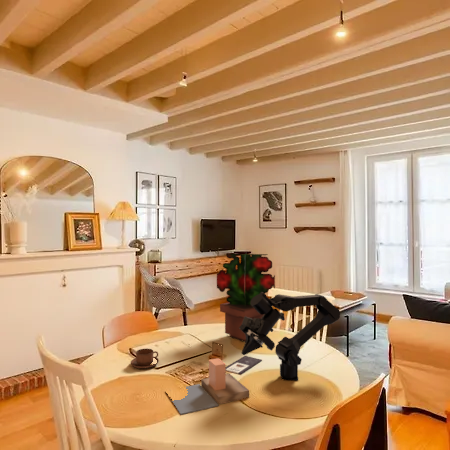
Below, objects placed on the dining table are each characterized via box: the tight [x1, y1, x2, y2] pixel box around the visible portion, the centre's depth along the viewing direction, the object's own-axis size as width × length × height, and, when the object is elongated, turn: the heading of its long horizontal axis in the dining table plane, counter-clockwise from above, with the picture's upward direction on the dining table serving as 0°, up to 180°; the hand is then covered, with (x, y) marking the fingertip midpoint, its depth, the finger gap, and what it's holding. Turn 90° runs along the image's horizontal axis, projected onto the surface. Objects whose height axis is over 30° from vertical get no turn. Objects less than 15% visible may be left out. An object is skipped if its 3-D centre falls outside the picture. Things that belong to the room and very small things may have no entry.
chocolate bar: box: [226, 355, 263, 375], centre depth 164 cm, size 9×1×18 cm
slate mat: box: [171, 383, 220, 415], centre depth 133 cm, size 14×18×1 cm
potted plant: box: [216, 253, 276, 343], centre depth 202 cm, size 22×22×45 cm
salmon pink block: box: [208, 357, 227, 391], centre depth 137 cm, size 4×6×9 cm, turn 25°
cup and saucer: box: [130, 348, 159, 369], centre depth 164 cm, size 12×12×6 cm
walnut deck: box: [200, 373, 250, 405], centre depth 139 cm, size 12×16×2 cm
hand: (242, 354), depth 142 cm, fingers closed
